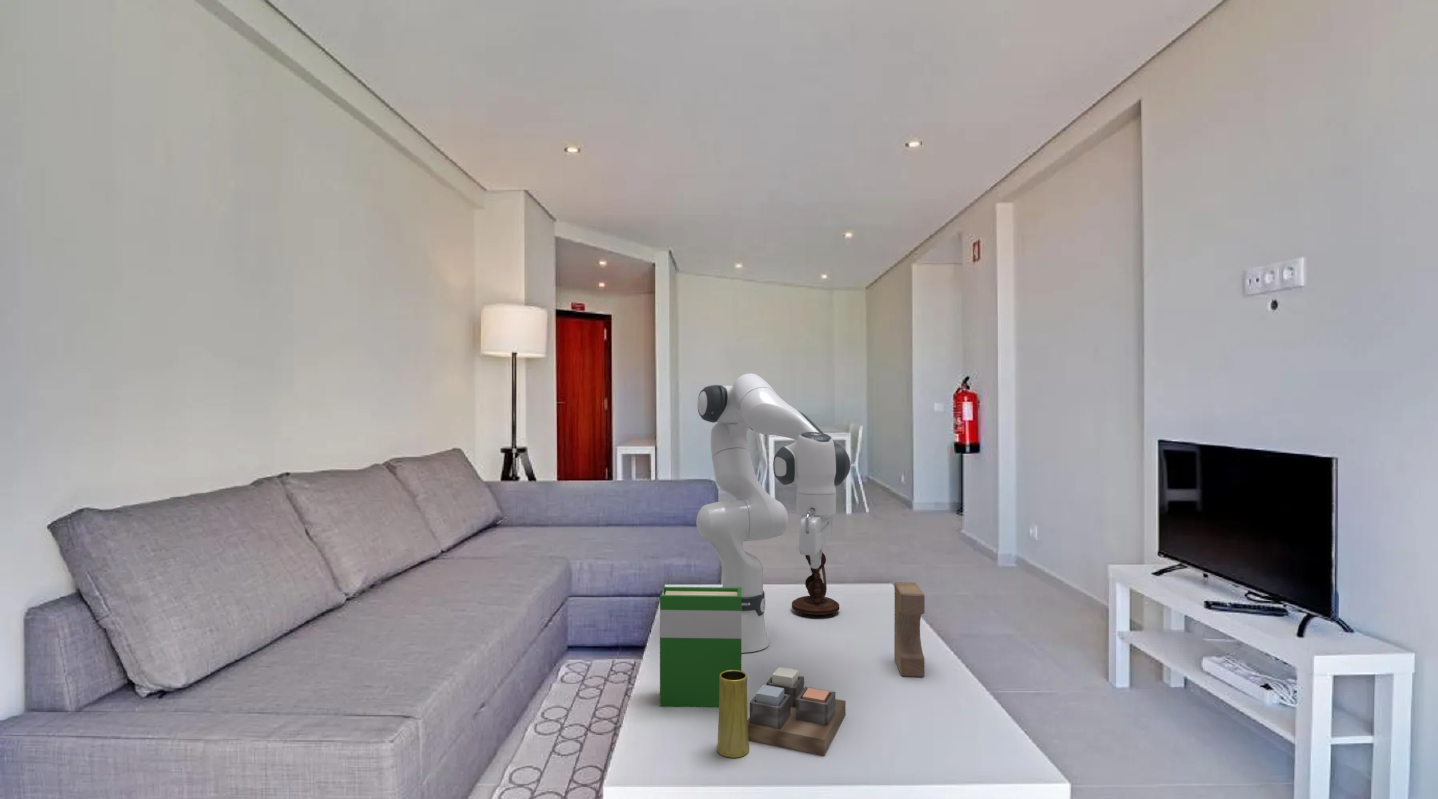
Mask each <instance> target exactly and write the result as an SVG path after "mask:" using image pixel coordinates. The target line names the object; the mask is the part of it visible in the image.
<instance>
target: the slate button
mask: <svg viewBox="0 0 1438 799" xmlns="http://www.w3.org/2000/svg"><path fill="white" fill-rule="evenodd" d="M755 696H756V702H757V703H762V704H768V705H773V706H780V704H781V703H782V702H783V700H784V688H779V687H774V686H768V685H766V684H763V685H762V686H761V687H760V688H759V689H758V691H757V692H756V694H755Z"/></svg>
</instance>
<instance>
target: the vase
mask: <svg viewBox="0 0 1438 799" xmlns="http://www.w3.org/2000/svg"><path fill="white" fill-rule="evenodd" d="M717 724H718V725H717V727H718V728H717V745H716V750H717V752H718V753H719V754H720V755H721V756H723V757H726V758H729V759H730V758H731V759H736V758H737V759H738V758H742V757H744V756H746V755H747V754H748V753H749V751H750V740H748V675H747V673H746V672H744V671H742V670H741V671H739V670H727V671H723V672H722V673H720V676H719V708H718V723H717Z"/></svg>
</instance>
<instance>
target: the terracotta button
mask: <svg viewBox="0 0 1438 799" xmlns="http://www.w3.org/2000/svg"><path fill="white" fill-rule="evenodd" d="M812 688H813V687H809V688H808V689H807V690H806V692H805V693H804V695H803V696H802V699H805V700H811V701H816V702H822V703H826V702H827V700H828V698H829V691H830V690H826V691H824V690H825V689H821V690H818V689H819V688H815V689H812Z"/></svg>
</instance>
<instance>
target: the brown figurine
mask: <svg viewBox="0 0 1438 799" xmlns="http://www.w3.org/2000/svg"><path fill="white" fill-rule="evenodd" d="M804 556H805V559H806V561H807V563H808V565H809V567H810V573H811V575H809V576H807V578H806V579H805V582H804V584H805V588H806V590H807V593H808V595H804V596H800V597H799V596H798V597H797V598H795V599H794V600H792V602H791V608H792V610H794V611H796V612H798V613H799V615H800V617H802V618H803V616H804V615H805V614H807V615H815V616H816V615H819V616H820V615H824V616H825V615H829V614H830V615H831V617H832V618H834V617H835V615H836V614H835V613H836V612H838V611H839V610H840V604H839V602H838V601H836V600H835V599H833V598H830V597H827V596H826V595H827V590H828V589H827V586H828V585H827V577H826V576H827V574H826V568H825V565H826V563H827V558H826V555H825V553H824V551H822V556H821V565H820V566H819V568H818V569H814V568H811V560H810V555H804ZM820 572H821V573H822V578H821V573H820Z"/></svg>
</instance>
